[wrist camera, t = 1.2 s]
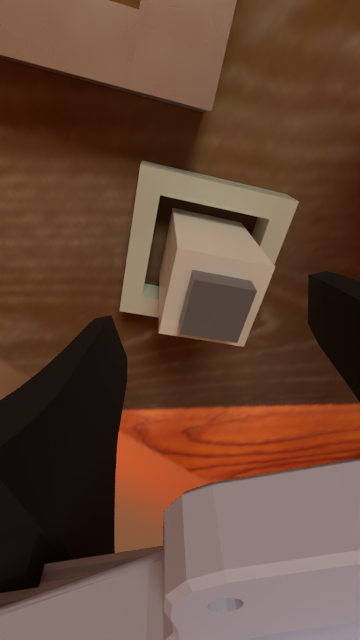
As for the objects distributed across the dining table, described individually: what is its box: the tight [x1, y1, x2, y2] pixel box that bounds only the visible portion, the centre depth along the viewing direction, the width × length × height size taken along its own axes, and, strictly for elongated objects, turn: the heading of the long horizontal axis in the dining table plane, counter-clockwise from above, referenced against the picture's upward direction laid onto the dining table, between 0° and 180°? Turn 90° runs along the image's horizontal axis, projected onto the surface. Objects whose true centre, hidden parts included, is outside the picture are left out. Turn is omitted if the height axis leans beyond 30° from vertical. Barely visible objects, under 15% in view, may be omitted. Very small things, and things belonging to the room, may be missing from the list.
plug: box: [158, 208, 275, 347], centre depth 17 cm, size 4×4×8 cm
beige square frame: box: [120, 160, 299, 317], centre depth 19 cm, size 8×8×2 cm
